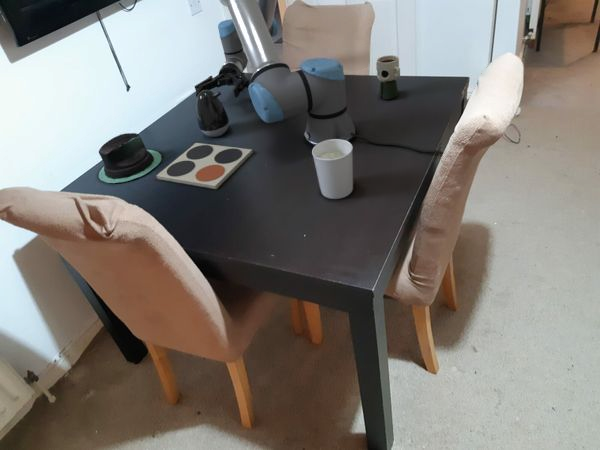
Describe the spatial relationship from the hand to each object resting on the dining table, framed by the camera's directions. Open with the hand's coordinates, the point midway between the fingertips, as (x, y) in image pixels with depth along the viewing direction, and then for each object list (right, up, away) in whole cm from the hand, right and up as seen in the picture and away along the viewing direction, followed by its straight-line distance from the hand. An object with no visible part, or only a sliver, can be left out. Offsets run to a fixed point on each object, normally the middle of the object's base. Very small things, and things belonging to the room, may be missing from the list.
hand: (216, 95), depth 150 cm
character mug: (+59, 0, +1) cm, 59 cm away
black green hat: (-26, -26, -10) cm, 37 cm away
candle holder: (+38, -35, -37) cm, 64 cm away
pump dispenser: (0, -13, -1) cm, 13 cm away
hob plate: (0, -26, -17) cm, 32 cm away
